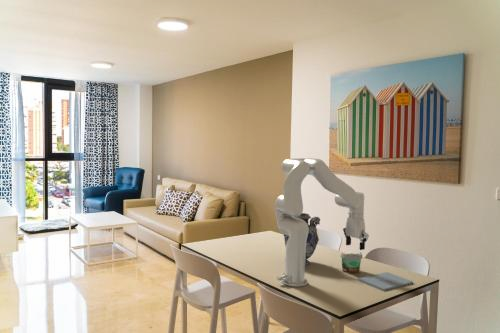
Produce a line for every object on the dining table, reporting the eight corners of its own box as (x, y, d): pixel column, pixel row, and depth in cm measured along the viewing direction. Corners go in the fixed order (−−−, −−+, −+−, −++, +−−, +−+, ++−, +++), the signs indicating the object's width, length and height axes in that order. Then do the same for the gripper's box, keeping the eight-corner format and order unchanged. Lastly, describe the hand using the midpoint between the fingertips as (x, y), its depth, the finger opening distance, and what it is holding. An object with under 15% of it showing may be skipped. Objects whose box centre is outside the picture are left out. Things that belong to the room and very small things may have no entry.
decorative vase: (275, 263, 225) (278, 213, 224) (288, 255, 242) (291, 209, 240) (312, 270, 215) (315, 218, 214) (322, 262, 232) (325, 214, 230)
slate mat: (383, 291, 189) (383, 288, 189) (357, 280, 202) (357, 278, 202) (413, 283, 200) (413, 281, 200) (386, 273, 214) (387, 272, 214)
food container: (345, 275, 210) (346, 256, 209) (339, 271, 216) (340, 252, 215) (366, 273, 213) (367, 255, 212) (360, 270, 219) (361, 251, 218)
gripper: (339, 213, 218) (338, 244, 219) (363, 219, 203) (362, 252, 205) (349, 212, 222) (348, 242, 223) (373, 217, 207) (372, 250, 209)
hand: (355, 247), depth 214 cm, fingers open, 9 cm apart
